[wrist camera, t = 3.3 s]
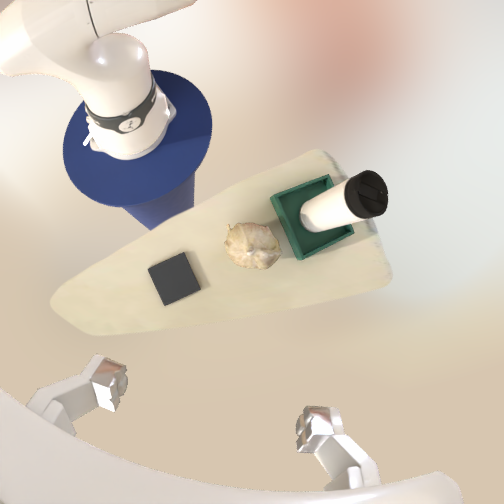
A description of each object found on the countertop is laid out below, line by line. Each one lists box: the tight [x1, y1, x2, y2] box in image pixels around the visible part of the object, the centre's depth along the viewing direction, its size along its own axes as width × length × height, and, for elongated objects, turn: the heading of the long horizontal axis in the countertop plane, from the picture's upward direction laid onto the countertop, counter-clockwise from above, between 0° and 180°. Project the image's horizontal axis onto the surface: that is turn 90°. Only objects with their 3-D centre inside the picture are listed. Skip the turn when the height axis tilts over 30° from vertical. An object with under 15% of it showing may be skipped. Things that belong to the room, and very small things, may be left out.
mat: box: [148, 252, 201, 306], centre depth 46 cm, size 7×7×1 cm
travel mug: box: [299, 170, 388, 233], centre depth 42 cm, size 6×7×20 cm
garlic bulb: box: [225, 223, 282, 269], centre depth 44 cm, size 9×8×10 cm
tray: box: [270, 174, 354, 260], centre depth 51 cm, size 13×13×2 cm
